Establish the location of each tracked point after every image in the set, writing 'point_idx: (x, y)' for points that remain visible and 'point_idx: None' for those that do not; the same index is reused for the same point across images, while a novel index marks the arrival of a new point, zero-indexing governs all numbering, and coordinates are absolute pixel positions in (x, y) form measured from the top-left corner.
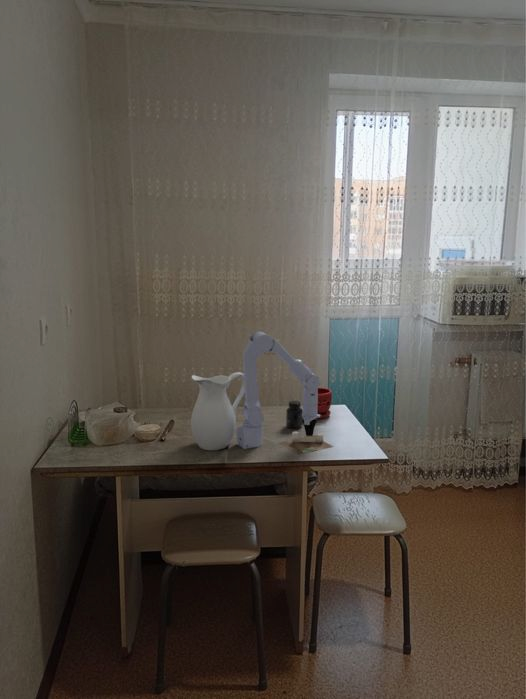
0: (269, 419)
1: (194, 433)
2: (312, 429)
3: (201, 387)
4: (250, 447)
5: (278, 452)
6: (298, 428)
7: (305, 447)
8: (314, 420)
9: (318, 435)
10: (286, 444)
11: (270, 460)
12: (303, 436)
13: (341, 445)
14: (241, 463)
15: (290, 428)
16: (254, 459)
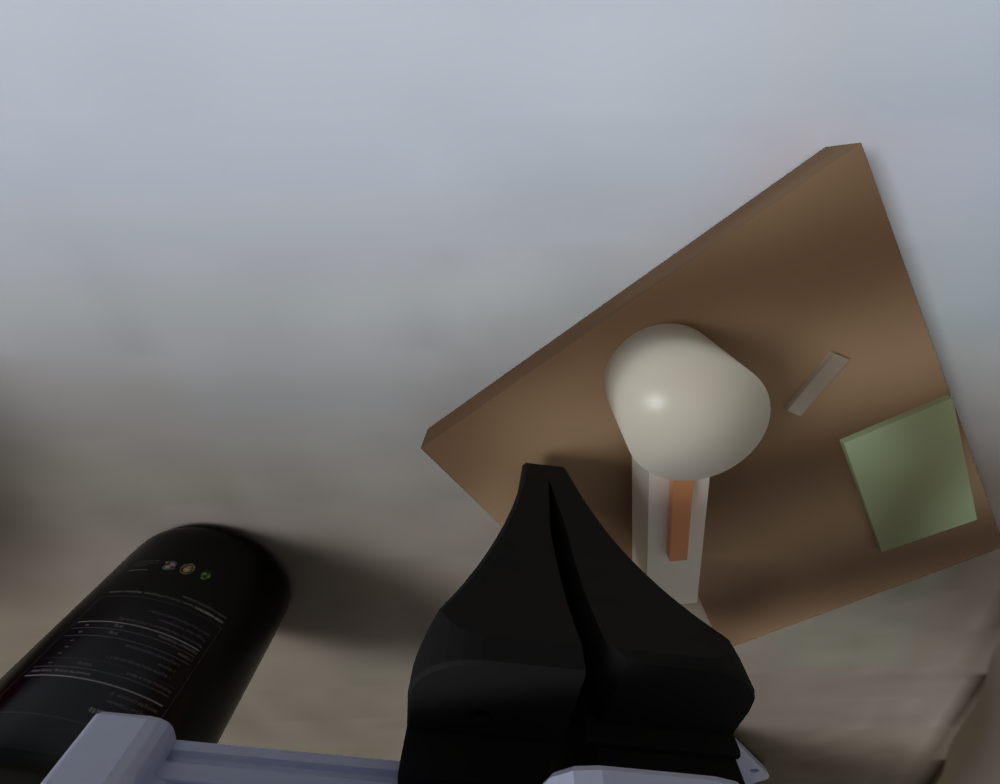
0: None
1: None
2: (617, 556)
3: None
4: (743, 778)
5: (796, 643)
6: (247, 573)
7: (815, 502)
8: (573, 693)
9: (735, 436)
10: None
11: (950, 672)
12: (664, 576)
13: (648, 4)
14: (941, 769)
15: (278, 625)
16: (897, 732)
